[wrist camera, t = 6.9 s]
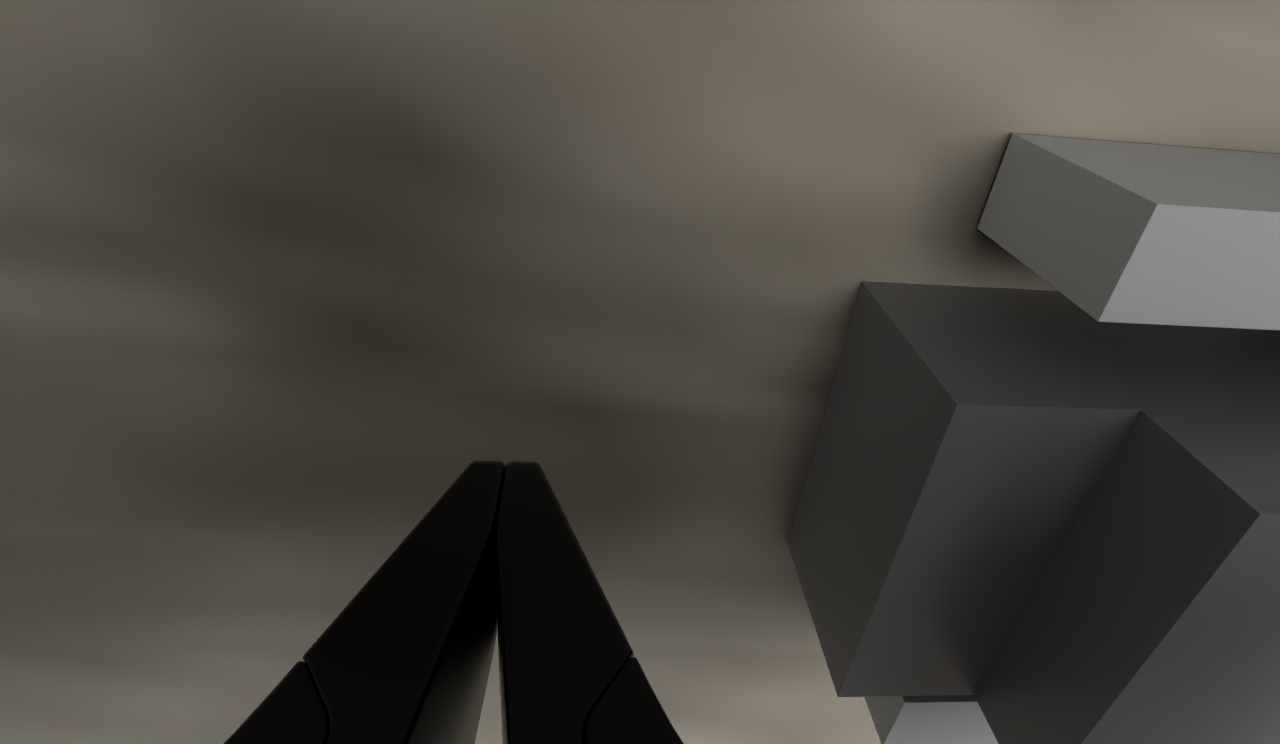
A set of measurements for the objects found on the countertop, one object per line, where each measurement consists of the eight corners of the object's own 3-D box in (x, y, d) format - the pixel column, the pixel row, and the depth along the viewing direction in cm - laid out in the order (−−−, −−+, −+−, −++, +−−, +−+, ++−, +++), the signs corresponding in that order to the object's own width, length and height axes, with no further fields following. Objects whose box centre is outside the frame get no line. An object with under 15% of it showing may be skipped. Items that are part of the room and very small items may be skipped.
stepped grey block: (1102, 540, 13) (1319, 799, 9) (785, 537, 12) (876, 813, 8) (1254, 296, 10) (1657, 519, 6) (858, 276, 9) (1039, 511, 6)
